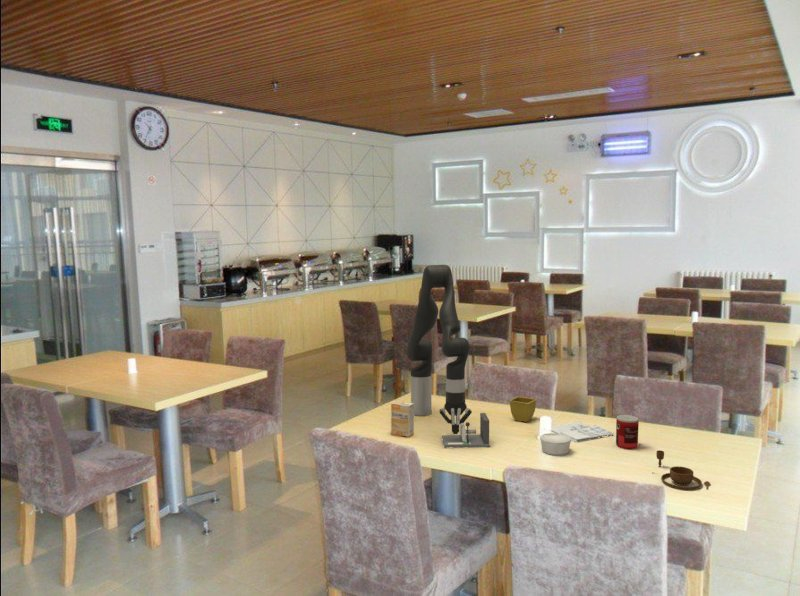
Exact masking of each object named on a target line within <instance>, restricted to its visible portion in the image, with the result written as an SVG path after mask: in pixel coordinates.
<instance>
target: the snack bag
mask: <svg viewBox="0 0 800 596" xmlns="http://www.w3.org/2000/svg"><path fill="white" fill-rule="evenodd" d="M551 426H552V431H551V433H557V434H563V435H567V436H569V437H570V438H571V442H573V443H580V442H585V441H590V440H589V439H591V440H595V439H594V438H597V439H599V438H598V437H602V436H607V435H612V436H613V435H614V432H612V431H610V430H607V429H605V428H603V427H600V426H598V425H597V424H595V425H592V426H590V425H587V424H585V423H583V422H581V421H577V422H570V423H563V424H558V425H551ZM602 438H603V437H602Z"/></svg>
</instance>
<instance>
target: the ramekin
mask: <svg viewBox="0 0 800 596" xmlns="http://www.w3.org/2000/svg"><path fill="white" fill-rule="evenodd" d="M539 440H540V445H541V450H542V451H543V453H545V454H548V455H550V456H551V455H552V456H565V455H566V454H567V453H569V451H570V447H571V442H572V441H571V438H570V437H569V436H567V435H563V434H557V433H554V432H550V433H544V434H541V435H540V436H539Z"/></svg>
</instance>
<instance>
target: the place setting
mask: <svg viewBox="0 0 800 596" xmlns="http://www.w3.org/2000/svg"><path fill="white" fill-rule="evenodd" d="M655 455H656V458H657V460H658V462H657V463H658V466H657V467H658V468H662V460H664V457H665V451H663V450H658V449H657V450H656V453H655ZM652 474H654V472H652ZM669 478H670V479H671V480H672V482H674V483H675V484H673V483H670V482H668V481H666V480H667V479H669ZM661 482H662V483H663V484H664V485H665V486H666V487H669V488H672V489H676V490H680V491H694V490H698V489H700V488H701V487H702V483H703V484H704V486H705V488H706V490H709V487H711V482H710V481H708V480H707V481H704V482H702V480H701V479H700V478H698V477H696V476H694V471H693V469H691V468H689V467H685V466H673V467H670V468H669V472H667V473H664V474H662V475H661ZM692 482H695V483H696V484H697V485H694V486H687V485H689V484H691V483H692Z"/></svg>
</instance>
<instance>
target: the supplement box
mask: <svg viewBox="0 0 800 596" xmlns="http://www.w3.org/2000/svg"><path fill="white" fill-rule="evenodd" d="M390 406H391V407H390V424H391V425H390V428H391V430H390V432H391V434H392V436H397V435H401V436H400V437H404V436H406V437H405V438H410V437H412V436H414V432H415V427H414V425H415V419H414V418H415V417H414V416H415V415H414V403H411V402H405V401H401V400H395V401H393V402H391V403H390ZM391 434H390V435H391ZM411 435H412V436H411Z"/></svg>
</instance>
